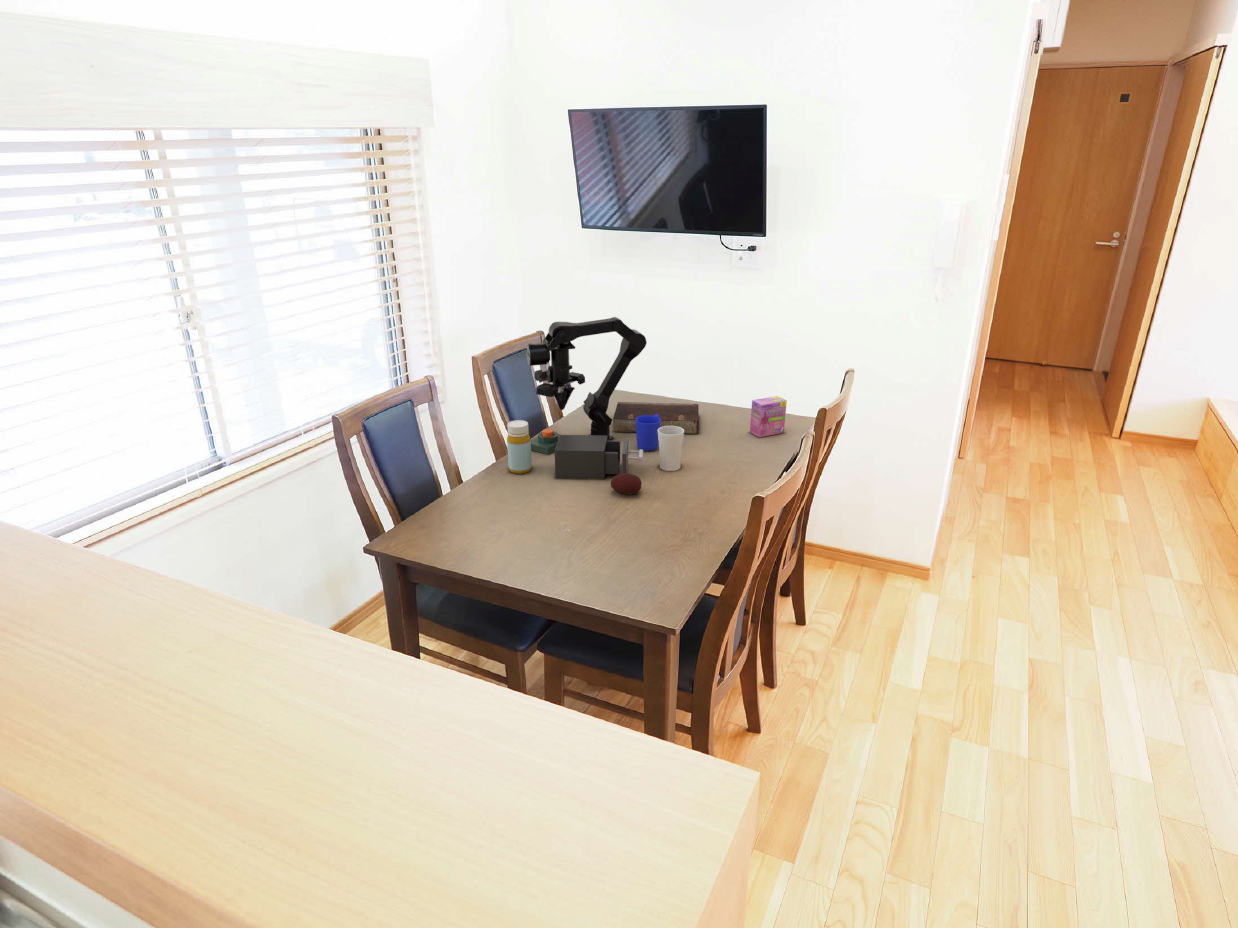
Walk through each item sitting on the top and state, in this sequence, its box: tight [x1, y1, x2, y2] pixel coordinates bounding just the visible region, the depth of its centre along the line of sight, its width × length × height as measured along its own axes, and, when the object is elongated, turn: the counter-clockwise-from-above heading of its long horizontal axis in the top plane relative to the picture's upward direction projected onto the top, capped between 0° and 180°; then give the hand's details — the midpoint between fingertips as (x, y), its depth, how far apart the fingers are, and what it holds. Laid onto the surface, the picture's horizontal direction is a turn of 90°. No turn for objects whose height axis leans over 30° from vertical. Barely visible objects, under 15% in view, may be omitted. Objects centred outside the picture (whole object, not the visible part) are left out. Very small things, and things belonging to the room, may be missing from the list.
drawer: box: [604, 438, 644, 475], centre depth 237 cm, size 18×11×7 cm, turn 86°
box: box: [749, 395, 788, 438], centre depth 265 cm, size 10×6×12 cm, turn 114°
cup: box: [658, 426, 685, 472], centre depth 239 cm, size 8×8×12 cm
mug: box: [635, 415, 661, 452], centre depth 255 cm, size 8×12×10 cm
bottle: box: [506, 419, 533, 475], centre depth 237 cm, size 7×7×15 cm
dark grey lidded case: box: [553, 434, 607, 480], centre depth 237 cm, size 15×13×9 cm
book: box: [612, 401, 700, 434], centre depth 275 cm, size 29×19×5 cm, turn 85°
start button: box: [541, 428, 555, 437], centre depth 256 cm, size 4×4×2 cm
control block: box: [531, 430, 562, 455], centre depth 257 cm, size 12×9×4 cm
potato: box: [610, 472, 643, 495], centre depth 223 cm, size 8×9×6 cm
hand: (561, 409), depth 254 cm, fingers closed
